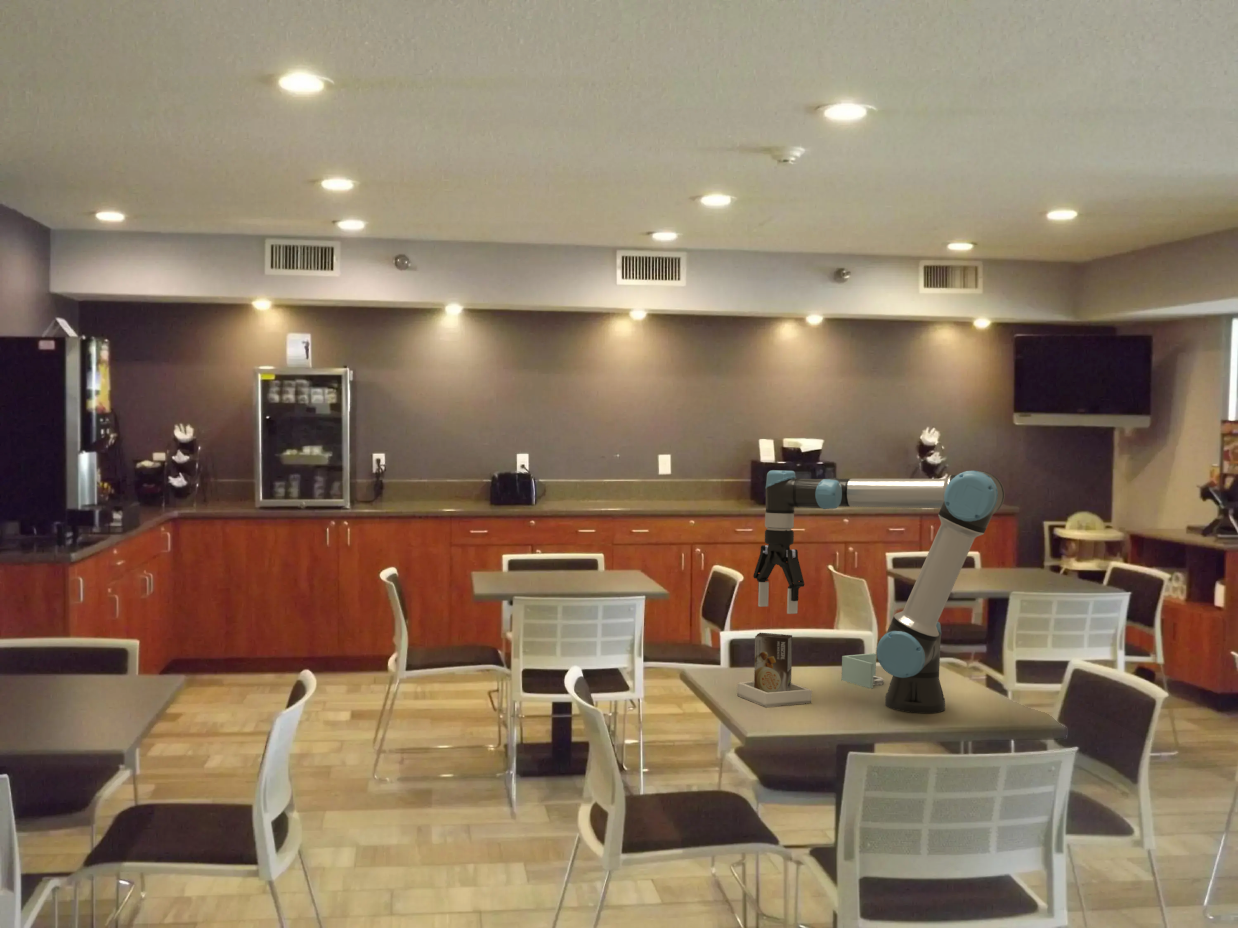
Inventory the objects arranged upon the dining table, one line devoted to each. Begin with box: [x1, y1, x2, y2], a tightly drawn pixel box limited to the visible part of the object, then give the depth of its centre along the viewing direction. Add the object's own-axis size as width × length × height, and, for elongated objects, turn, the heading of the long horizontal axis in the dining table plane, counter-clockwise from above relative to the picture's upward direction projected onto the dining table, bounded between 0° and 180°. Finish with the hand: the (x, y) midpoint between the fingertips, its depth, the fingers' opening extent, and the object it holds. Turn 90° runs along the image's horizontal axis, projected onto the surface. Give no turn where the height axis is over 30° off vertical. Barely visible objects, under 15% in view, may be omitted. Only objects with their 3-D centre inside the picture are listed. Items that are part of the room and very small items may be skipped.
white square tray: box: [736, 681, 813, 708], centre depth 298 cm, size 14×14×4 cm
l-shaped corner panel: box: [841, 652, 884, 689], centre depth 324 cm, size 12×12×8 cm
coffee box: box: [753, 632, 793, 693], centre depth 298 cm, size 9×6×16 cm
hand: (777, 609), depth 297 cm, fingers open, 13 cm apart
